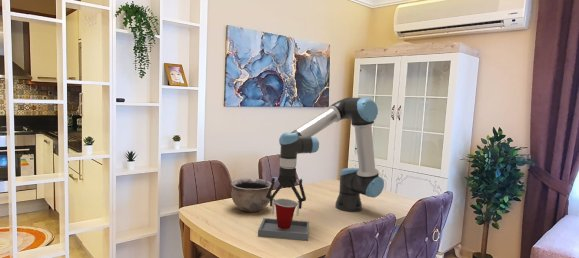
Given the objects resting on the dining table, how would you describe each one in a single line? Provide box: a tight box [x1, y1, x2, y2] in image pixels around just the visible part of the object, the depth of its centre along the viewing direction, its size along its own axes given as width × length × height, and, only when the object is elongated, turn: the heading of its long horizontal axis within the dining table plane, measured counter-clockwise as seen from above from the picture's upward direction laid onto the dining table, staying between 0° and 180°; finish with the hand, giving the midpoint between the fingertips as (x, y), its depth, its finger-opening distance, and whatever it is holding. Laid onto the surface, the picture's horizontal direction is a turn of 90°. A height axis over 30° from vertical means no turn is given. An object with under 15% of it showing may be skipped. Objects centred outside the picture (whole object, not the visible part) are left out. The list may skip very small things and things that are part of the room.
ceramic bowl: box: [230, 178, 273, 213], centre depth 195 cm, size 22×22×15 cm
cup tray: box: [257, 217, 310, 242], centre depth 166 cm, size 22×16×3 cm
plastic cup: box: [274, 198, 298, 229], centre depth 165 cm, size 11×11×12 cm
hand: (285, 214), depth 165 cm, fingers closed on plastic cup, 11 cm apart
